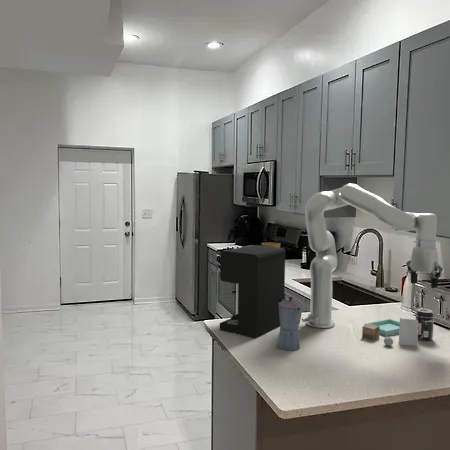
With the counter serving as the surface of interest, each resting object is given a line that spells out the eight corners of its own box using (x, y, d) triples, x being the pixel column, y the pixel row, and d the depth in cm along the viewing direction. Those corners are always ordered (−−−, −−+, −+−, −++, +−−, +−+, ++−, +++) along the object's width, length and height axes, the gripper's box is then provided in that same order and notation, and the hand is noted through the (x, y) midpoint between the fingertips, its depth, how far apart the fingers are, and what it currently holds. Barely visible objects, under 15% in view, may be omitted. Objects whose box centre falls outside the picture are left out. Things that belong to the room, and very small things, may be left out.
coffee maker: (252, 315, 222) (253, 243, 219) (288, 322, 211) (290, 246, 208) (218, 329, 199) (218, 249, 196) (256, 338, 188) (258, 254, 185)
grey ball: (388, 347, 179) (389, 339, 179) (381, 345, 182) (382, 336, 182) (395, 346, 181) (395, 337, 181) (387, 343, 184) (388, 335, 184)
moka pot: (288, 355, 170) (290, 302, 168) (266, 342, 184) (267, 293, 182) (309, 351, 175) (311, 299, 173) (286, 338, 188) (287, 290, 186)
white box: (417, 346, 181) (418, 321, 181) (398, 344, 184) (400, 319, 183) (416, 343, 185) (417, 318, 184) (398, 341, 187) (399, 317, 186)
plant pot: (281, 262, 375) (281, 242, 374) (278, 265, 361) (278, 244, 359) (263, 261, 379) (263, 241, 378) (259, 263, 365) (260, 244, 364)
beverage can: (413, 335, 195) (415, 307, 194) (431, 336, 193) (432, 308, 192) (415, 340, 188) (417, 311, 187) (433, 342, 186) (435, 313, 185)
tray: (386, 336, 192) (386, 331, 192) (364, 328, 203) (364, 323, 203) (411, 330, 200) (411, 325, 200) (389, 323, 211) (389, 318, 210)
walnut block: (373, 341, 187) (373, 329, 187) (362, 337, 191) (362, 326, 190) (379, 338, 191) (379, 326, 190) (368, 335, 194) (368, 323, 194)
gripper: (401, 242, 192) (400, 282, 193) (438, 246, 177) (436, 290, 178) (414, 241, 196) (412, 280, 197) (451, 245, 180) (449, 288, 182)
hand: (423, 285), depth 188 cm, fingers open, 9 cm apart
